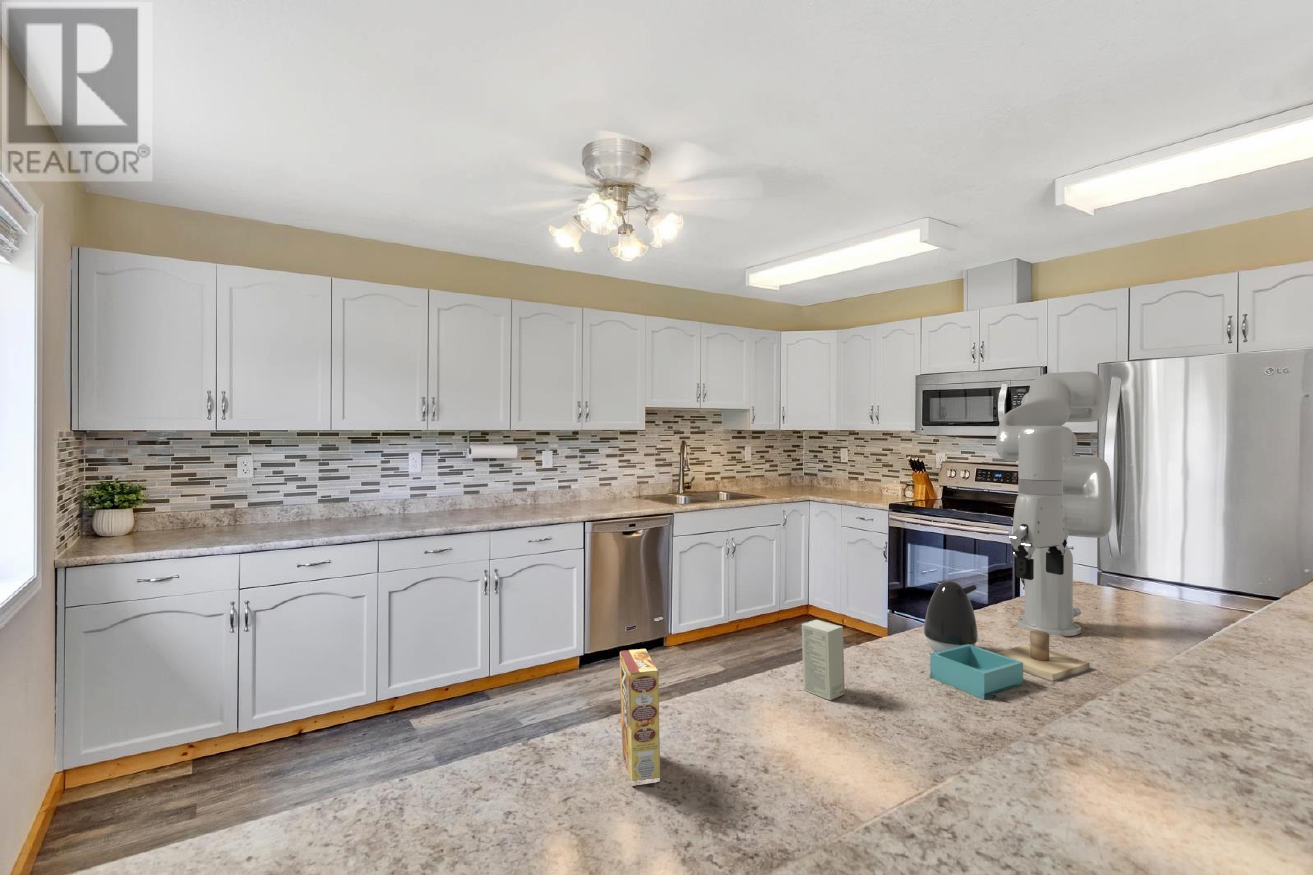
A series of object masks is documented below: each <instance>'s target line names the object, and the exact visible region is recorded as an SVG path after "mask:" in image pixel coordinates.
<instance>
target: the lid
mask: <svg viewBox="0 0 1313 875" xmlns="http://www.w3.org/2000/svg"><path fill="white" fill-rule="evenodd" d="M1029 632H1030V633H1029V634H1030V643H1028V644H1027V643H1026V644H1023V645H1020V646H1015V647H1012V648H1008V649H1004V650H1001V651H997V652H996V653H997V654H1000V655H1003V656H1005V657H1008V658H1011V659H1014V660H1017V661H1020V662H1023V671H1026V672H1029V673H1031V674H1034V675H1037V676H1040V677H1043V678H1046V679H1049V680H1052V681H1054V680H1057V679H1060V678H1063V677H1066V676H1069V675H1072V674H1076V673H1079V672H1082V671H1085V670H1088V669H1090V668H1091V665H1090V664H1091V663H1090V662H1088V661H1085V660H1082V659H1078V658H1075V657H1073V656H1068V655H1066V654H1062V653H1060V652H1059V653H1058V652H1055V651H1053V650H1050V635H1049V633H1047V632H1044V631H1037V630H1033V631H1030V630H1029ZM1031 674H1030V675H1031Z"/></svg>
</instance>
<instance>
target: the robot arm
mask: <svg viewBox="0 0 1313 875" xmlns="http://www.w3.org/2000/svg"><path fill="white" fill-rule="evenodd" d="M1104 384H1105V383H1104V381H1103V380H1102V378H1101V377H1100V376H1099V375H1098V374H1097V373H1096V372H1093V371H1068V372H1067V371H1066V372H1049V373H1044V374H1040V375H1039V376H1037V377H1036V378H1034V379H1033V381H1032V382H1031V383H1030V386H1029V390H1028V392H1027V393H1026V394H1024V395H1023V397H1022V398H1021V402H1020V404H1021V405H1019V406H1016V407H1015V408H1013V409H1011V410H1009V411H1008V412H1006V413H1005V414H1004V415H1003V416H1002V417H1001V420H1000V422H999V425H998V430H997V433H996V437H995V448H996V452H997V454H998V456H999V457H1000V458H1001V459H1002V460H1005V461H1008V462H1018V463H1017V464H1018V472H1017V473H1018V474H1017V477H1018V483H1017V484H1018V490H1017V491H1018V492H1017V493H1018V494H1017V496H1016V500H1015V504H1014V512H1013V520H1012V534H1010V536H1009V540H1010V544H1011V550H1012V551H1013V556H1014V557H1015V576H1016V577H1015V578H1019V579H1023V580H1024V615H1022V616H1019V617H1018V618H1017V619H1016V621H1017V622H1016V623H1017V625H1018V626H1019V627H1020V628H1023V629H1025V630H1027V631H1029V632H1030V631H1033V630H1037V631H1044V632H1047V633H1049V636H1060V637H1073V636H1077V635H1080V634H1081V632H1082V628H1081V626H1080V625H1079V624H1077V623H1076V622H1074V618H1075V617H1079V616H1080V615H1081V614H1082V612H1081V609H1080V608H1078V607H1074V605H1073V604H1074V598H1073V597H1074V558H1073V557H1074V556H1073V554H1072V551H1071V549H1070V548H1069V547H1068V537H1078V538H1094V539H1095V538H1098V539H1099V538H1105V537H1106V536H1107V535H1108V534H1109V533H1110V531H1111V528H1112V520H1113V516H1112V515H1113V514H1112V512H1113V511H1112V481H1111V480H1112V479H1111V471H1110V467H1109V465H1108V463H1107V462H1106V461H1105V460H1104V459H1102V458H1101V457H1097V456H1085V455H1083V456H1080V455H1079V456H1078V455H1075V454H1076V452H1077V450H1078V440H1077V436H1076V434H1075V433H1074V432H1073V431H1072V429H1070V428H1069V427H1067V426H1064V425H1065V424H1066V423H1089V422H1090V423H1093V422H1097V421H1099V420H1100V419H1102V417H1103V415H1104V412H1105V408H1106V404H1105V403H1106V389H1105V385H1104Z"/></svg>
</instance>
